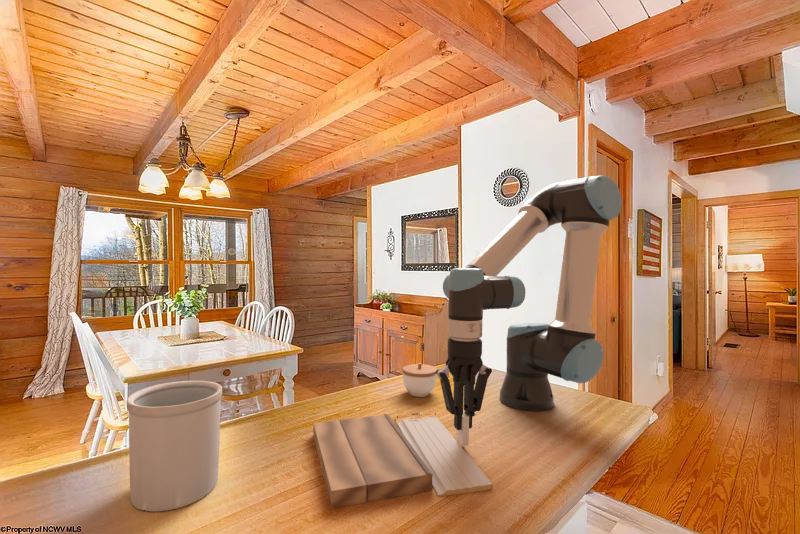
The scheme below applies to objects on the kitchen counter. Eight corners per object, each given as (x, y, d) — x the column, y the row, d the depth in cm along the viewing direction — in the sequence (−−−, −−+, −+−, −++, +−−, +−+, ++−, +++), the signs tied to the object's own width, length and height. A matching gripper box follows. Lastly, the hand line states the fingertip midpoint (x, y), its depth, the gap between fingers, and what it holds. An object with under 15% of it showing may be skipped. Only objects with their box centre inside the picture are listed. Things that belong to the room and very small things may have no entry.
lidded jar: (400, 388, 128) (400, 359, 127) (433, 387, 129) (433, 358, 128) (404, 400, 117) (404, 368, 117) (439, 399, 118) (440, 368, 118)
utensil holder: (155, 467, 79) (155, 379, 78) (233, 465, 80) (233, 378, 79) (106, 516, 64) (105, 408, 63) (202, 513, 65) (202, 407, 64)
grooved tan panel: (388, 426, 99) (388, 413, 99) (432, 490, 72) (432, 472, 72) (313, 435, 93) (313, 422, 93) (331, 508, 67) (331, 490, 66)
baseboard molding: (430, 501, 70) (492, 492, 73) (430, 485, 70) (492, 476, 73) (390, 426, 100) (435, 422, 103) (391, 415, 100) (436, 411, 103)
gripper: (445, 343, 82) (443, 455, 83) (499, 339, 86) (497, 446, 87) (431, 335, 89) (429, 439, 90) (482, 333, 94) (480, 432, 94)
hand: (462, 442), depth 89 cm, fingers closed
